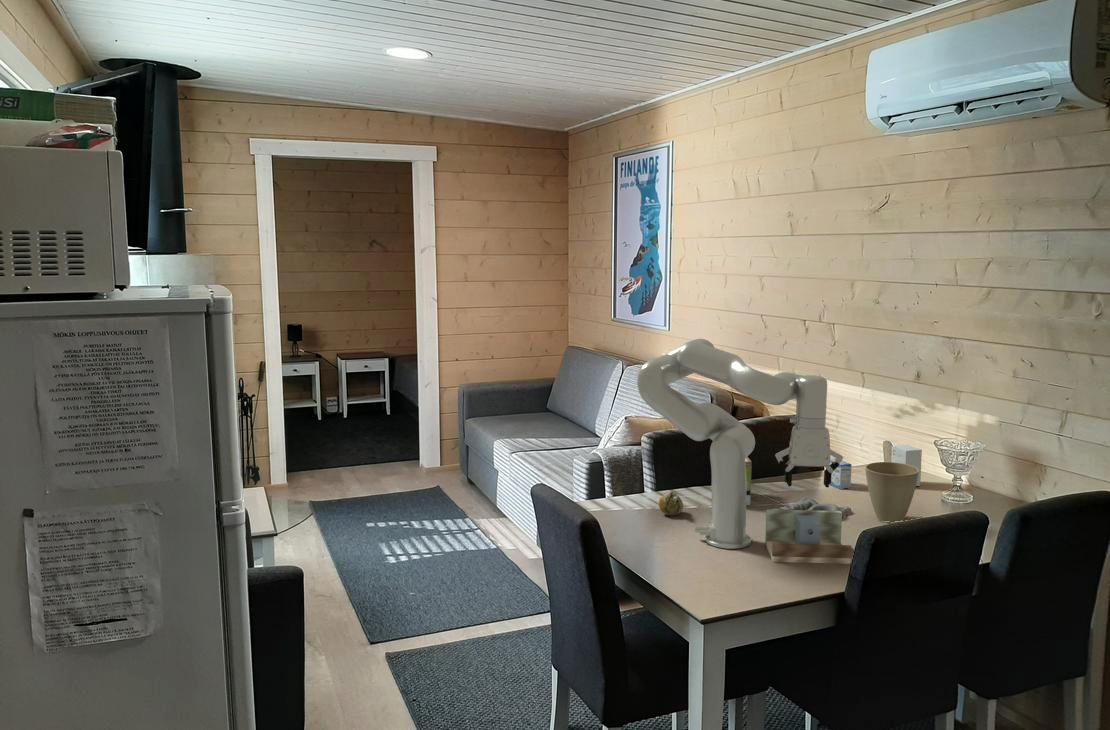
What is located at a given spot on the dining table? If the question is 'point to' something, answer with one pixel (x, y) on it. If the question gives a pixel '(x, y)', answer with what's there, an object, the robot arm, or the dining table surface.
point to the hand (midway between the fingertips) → (807, 485)
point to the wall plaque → (815, 506)
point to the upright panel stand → (786, 550)
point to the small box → (907, 457)
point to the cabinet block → (807, 530)
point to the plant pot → (891, 489)
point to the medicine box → (841, 475)
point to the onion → (671, 504)
